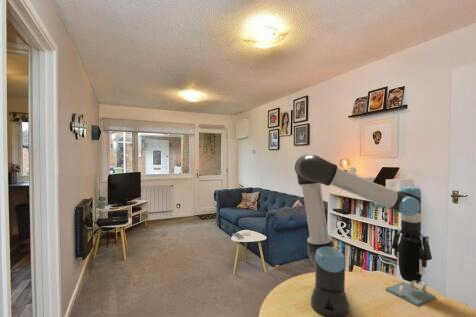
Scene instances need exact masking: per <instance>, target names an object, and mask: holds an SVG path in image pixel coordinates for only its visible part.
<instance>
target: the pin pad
mask: <svg viewBox="0 0 476 317" xmlns="http://www.w3.org/2000/svg"><path fill="white" fill-rule="evenodd" d="M385 291H386V292H388V293H390V294H392V295H394V296H396V297H398V298H400V299H402V300H404V301H406V302H408V303H410V304H412V305H413V306H416V307H419V306H421V305H424V304H426V303H428V302H431V301H433V300H435V299H437V298H436V297H437V296H436V295H434V294H431V293H429V292H428V291H427V283H426V282H424V281H421V289H420V288H418V287H416V286H415V281H412V282H409V283H407V282H405V281H402V282H400V283H396V284H394V285H391V286H388V287H385Z"/></svg>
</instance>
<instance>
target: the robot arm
mask: <svg viewBox="0 0 476 317" xmlns="http://www.w3.org/2000/svg"><path fill="white" fill-rule="evenodd" d="M294 172H295V173H296V176H297V177H296V179H297V183H298V185H299V186H300V187H302V188H301V189H302V195H303V201H304V208H305V213H306V214H305V216H306V220H307V227H308V234H309V235H308V238H307V239H306V242H307V249H306V250H307V251H306V252H307V256H308V258H309V260H310V261H311V264H312V266H313V267H314V271H315V273H314V274H315V276H314V277H315V280H314V281H315V283H314V288H313V292H312V294H311V297H310V306H311V307H312V309H313V310H314V311H315V312H317V313H319V314H321V315H322V316H325V317H346V316H348V314H349V312H350V305H349V301H348V298H347V294H346V291H345V284H346V282H345V281H346V280H345V279H346V278H345V277H346V259H345V255H344V253H343V252H342V251H341V250H340V249H338V248H336V247H334V241H333V238H332V237H331V236H330V235H329V231H328V226H327V225H328V224H327V218H326V211H325V207H324V206H325V205H324V199H323V192H322V185H324V186H326V187H329V186H333V187H336V188H338V189H340V190H343V191H346V192H348V193H350V194H353V195H355V196H358V197H360V198H363V199H366V200H368V201H370V202H372V203H374V206H375V207H377V208H382V209H384V208H387V209H389V210H392V211H395V212H397V213H399V214H400V219H401V220H400V227H401V229H400V228H396V229H395V228H394V230H393V231H394V236H393V240H392V243H391V249H393V250H394V251H395V258H396V261H397V262H396V266H398V267H399V243H400V239H401V235H403V236H404V237H405V238H410V239H419V238H420V239H421V241H422V246H423V248H422V247H419V246H418V247H419V255H420V257H421V259H419V274H421V275H422V276H423V275H424V274H425V272H426V271H425V270H426V269H425V268H427V267H428V263H427V262H428V261H432V259H433V256H432V252H431V248H430V244H429V240H430V238H429V237H430V236H428V235H426V236H425V235H423V234H422V233H421V231H422V222H421V221H422V190H421V188H419V187H418V186H417V187H415V186H401V189H400V190H399V191H398V190H397V191H395V190H393V189H390V188H388V187H385V186H383V185H380V184H378V183H376V182H373V181H371V180H369V179H365V178H363V177H360V176H358V175H356V174H353V173H351V172H348V171H346V170H343V169H341V168H339V166H338V165H337V164H335V163H333V162H330V161H328V160H327V159H324V158H323V157H321V156H319V155H315V154H304V155H301V156H300V157H299V158H297V160H296V162H295V163H294Z"/></svg>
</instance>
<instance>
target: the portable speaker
mask: <svg viewBox="0 0 476 317" xmlns="http://www.w3.org/2000/svg"><path fill="white" fill-rule="evenodd" d="M399 242H400V243H399ZM399 242H398V244H399V266H398V270H399V275H400V277H401V279H402V280H404V281H407V282H409V283H410V282H412V281H414V282H415V281H416V282H418V283H420V282H422V276H423V274H422V275H421V274H419V259H421V257H420V255H419V247H422V248H423V244H422V240H421V238H419V239H410V238H405V237H404V236H403V235H402V234H400V238H399ZM418 246H419V247H418ZM423 249H424V248H423Z"/></svg>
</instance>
